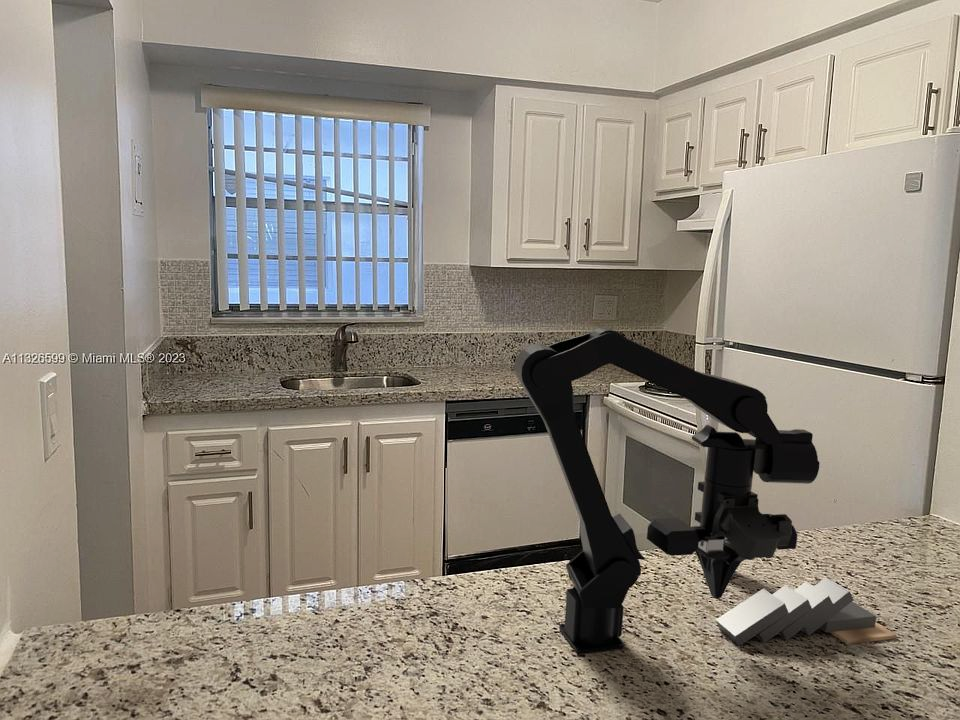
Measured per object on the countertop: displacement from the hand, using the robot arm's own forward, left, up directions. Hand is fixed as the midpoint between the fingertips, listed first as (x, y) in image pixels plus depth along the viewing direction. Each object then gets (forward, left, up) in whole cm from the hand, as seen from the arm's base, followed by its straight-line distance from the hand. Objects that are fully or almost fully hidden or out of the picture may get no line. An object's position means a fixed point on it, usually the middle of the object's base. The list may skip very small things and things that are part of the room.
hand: (715, 596), depth 94 cm
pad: (+21, 0, -6) cm, 22 cm away
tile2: (+6, 0, -5) cm, 8 cm away
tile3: (+9, 0, -5) cm, 11 cm away
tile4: (+13, 0, -5) cm, 14 cm away
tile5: (+16, 0, -5) cm, 16 cm away
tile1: (+2, 0, -5) cm, 5 cm away
